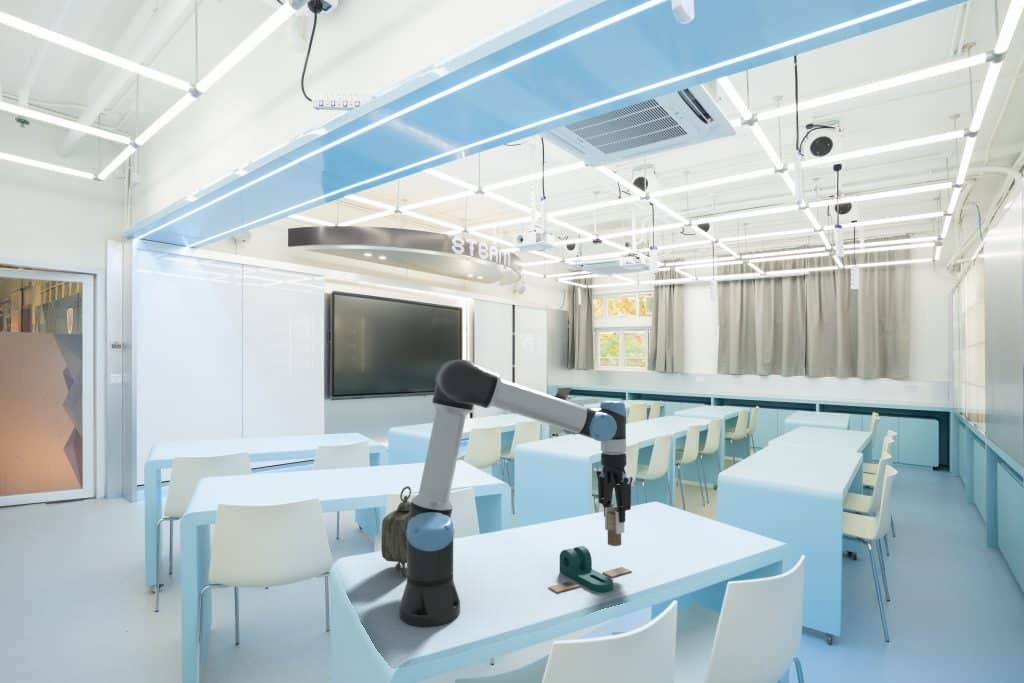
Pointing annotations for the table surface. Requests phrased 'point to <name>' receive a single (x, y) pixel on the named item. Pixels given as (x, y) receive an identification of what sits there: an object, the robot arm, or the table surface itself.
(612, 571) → the wooden slat
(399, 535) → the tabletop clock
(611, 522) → the tan cylinder gray tip
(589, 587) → the bracket
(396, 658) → the table surface
